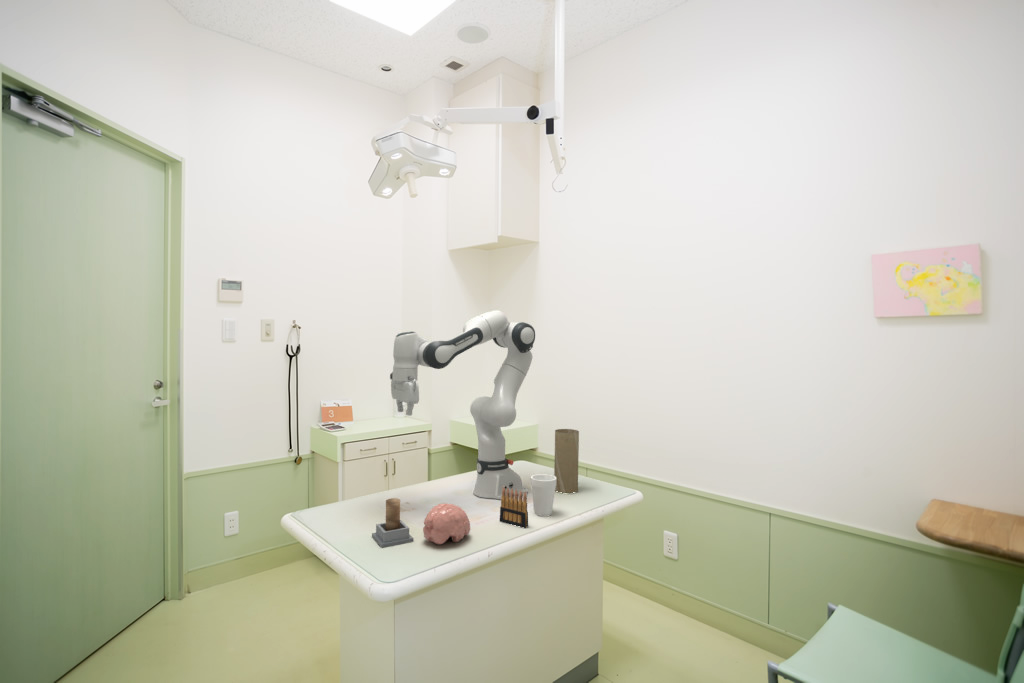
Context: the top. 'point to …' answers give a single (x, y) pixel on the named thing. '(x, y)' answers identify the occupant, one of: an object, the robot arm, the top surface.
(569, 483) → the tube
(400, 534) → the socket block
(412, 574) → the top surface
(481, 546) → the top surface
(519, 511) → the ammunition clip
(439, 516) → the brain
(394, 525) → the brown rounded peg
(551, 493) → the foam cup
